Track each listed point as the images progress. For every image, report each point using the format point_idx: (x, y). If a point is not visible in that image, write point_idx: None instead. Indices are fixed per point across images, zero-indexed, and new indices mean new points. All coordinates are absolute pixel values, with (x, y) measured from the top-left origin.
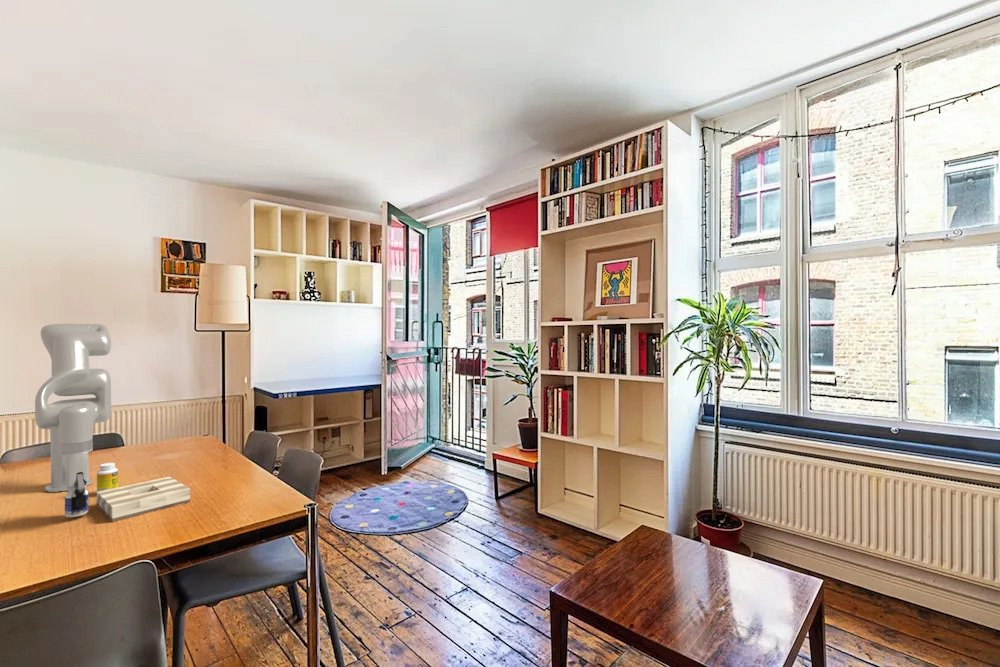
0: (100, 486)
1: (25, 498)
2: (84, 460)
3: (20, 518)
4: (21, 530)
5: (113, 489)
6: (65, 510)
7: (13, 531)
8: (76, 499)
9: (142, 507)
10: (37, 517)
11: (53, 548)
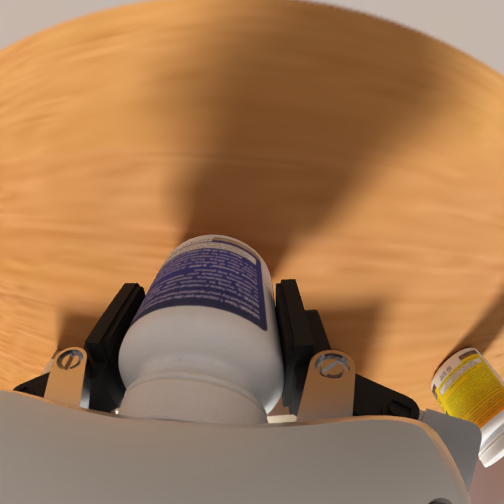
0: (468, 381)
1: None
2: None
3: (447, 80)
4: (216, 36)
5: None
6: (190, 251)
7: (234, 9)
8: (86, 349)
9: None
10: (406, 128)
11: None
